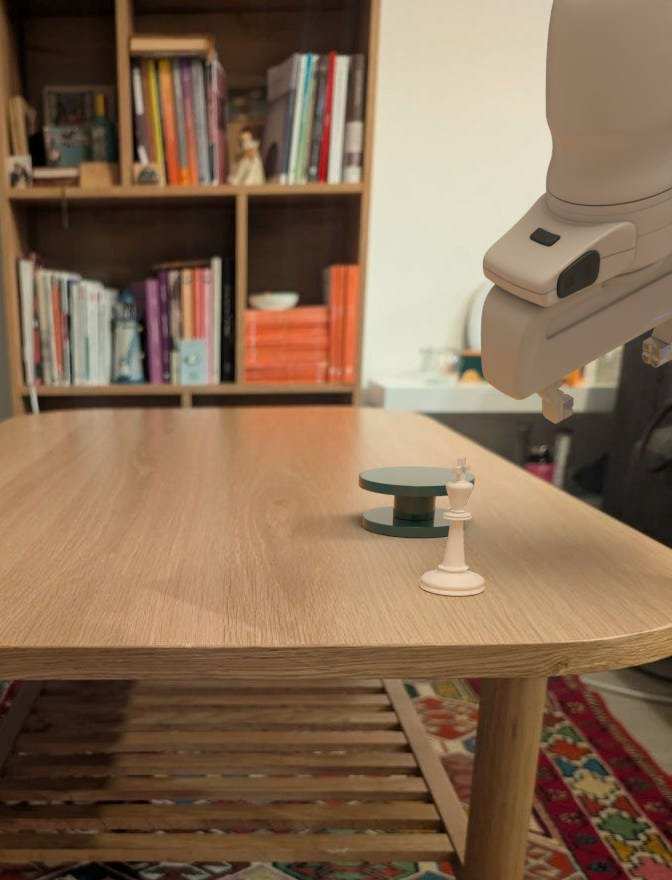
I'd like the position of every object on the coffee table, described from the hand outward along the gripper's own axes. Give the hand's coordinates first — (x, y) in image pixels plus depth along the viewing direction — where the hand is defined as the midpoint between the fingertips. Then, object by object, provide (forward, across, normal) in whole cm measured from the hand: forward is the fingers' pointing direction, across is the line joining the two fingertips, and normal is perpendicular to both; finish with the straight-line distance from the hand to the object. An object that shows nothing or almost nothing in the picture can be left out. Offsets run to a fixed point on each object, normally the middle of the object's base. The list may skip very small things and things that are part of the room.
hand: (607, 388), depth 73 cm
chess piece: (+7, +18, +4) cm, 20 cm away
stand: (+17, +10, -14) cm, 24 cm away
